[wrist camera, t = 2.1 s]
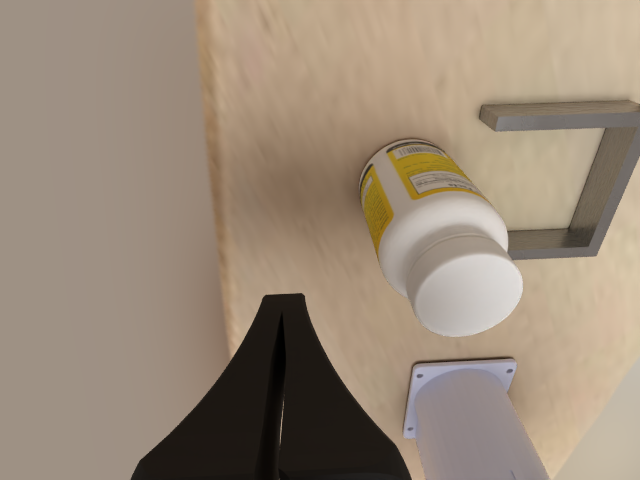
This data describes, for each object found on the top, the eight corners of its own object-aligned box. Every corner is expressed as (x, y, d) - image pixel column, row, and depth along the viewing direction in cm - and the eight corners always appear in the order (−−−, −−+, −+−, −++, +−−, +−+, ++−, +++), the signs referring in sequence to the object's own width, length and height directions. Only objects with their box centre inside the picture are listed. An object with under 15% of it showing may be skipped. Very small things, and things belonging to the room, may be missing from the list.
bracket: (576, 237, 25) (596, 256, 24) (455, 243, 25) (466, 262, 23) (629, 100, 21) (658, 111, 19) (481, 105, 21) (498, 116, 19)
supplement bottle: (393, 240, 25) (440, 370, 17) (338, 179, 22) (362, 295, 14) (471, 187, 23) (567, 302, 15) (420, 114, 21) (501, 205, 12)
